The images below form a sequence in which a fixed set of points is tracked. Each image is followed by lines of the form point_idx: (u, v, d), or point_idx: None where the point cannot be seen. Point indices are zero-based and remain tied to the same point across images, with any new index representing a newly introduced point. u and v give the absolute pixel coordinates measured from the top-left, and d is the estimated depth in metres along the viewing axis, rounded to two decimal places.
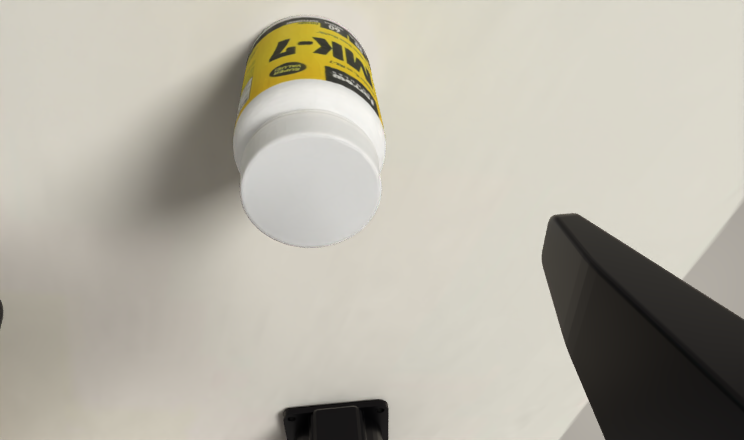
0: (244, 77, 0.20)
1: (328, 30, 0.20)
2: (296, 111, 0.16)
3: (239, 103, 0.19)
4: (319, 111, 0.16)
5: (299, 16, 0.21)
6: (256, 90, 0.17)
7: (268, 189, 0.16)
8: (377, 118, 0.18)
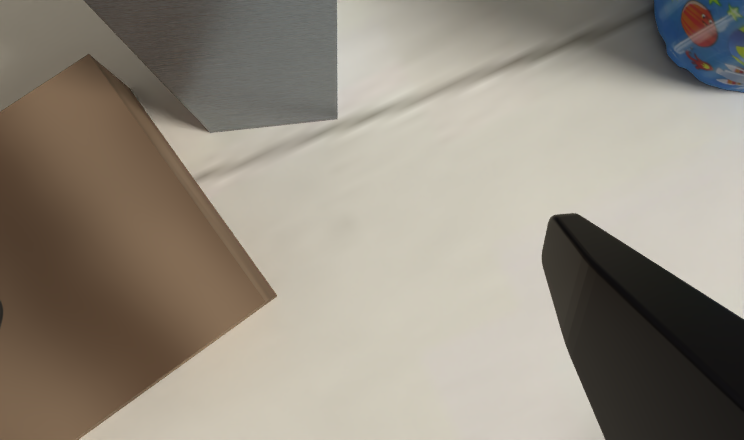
0: None
1: None
2: None
3: None
4: None
5: None
6: None
7: None
8: None
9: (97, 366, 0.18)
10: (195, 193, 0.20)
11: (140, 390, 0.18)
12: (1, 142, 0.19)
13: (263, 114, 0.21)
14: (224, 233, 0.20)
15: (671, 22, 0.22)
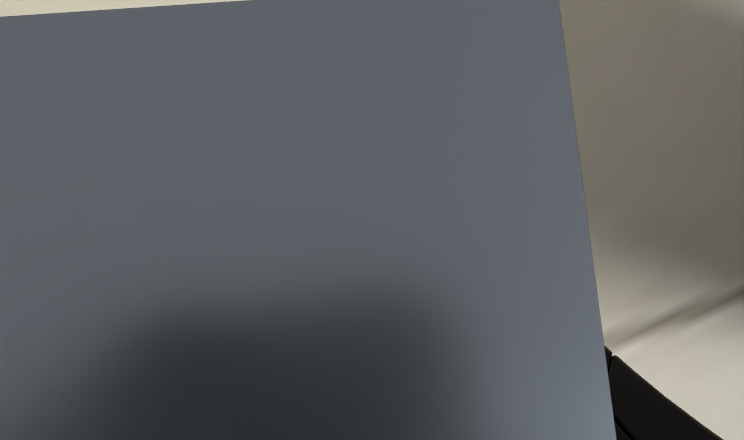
0: None
1: None
2: None
3: None
4: None
5: None
6: None
7: None
8: None
9: None
10: None
11: None
12: None
13: None
14: None
15: None
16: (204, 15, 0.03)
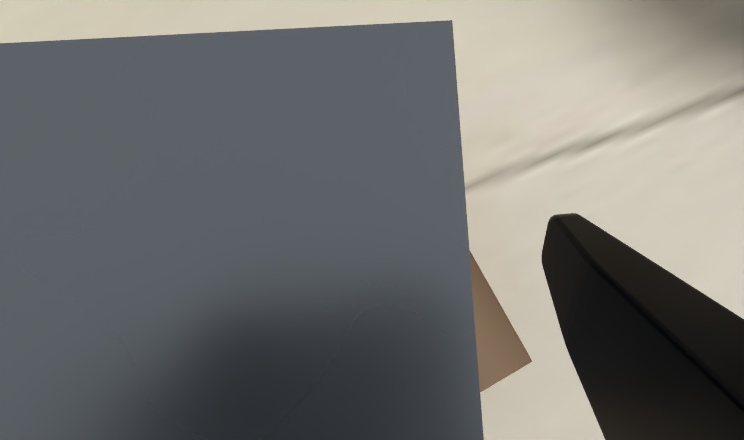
0: None
1: None
2: None
3: None
4: None
5: None
6: None
7: None
8: None
9: None
10: None
11: None
12: None
13: None
14: None
15: None
16: (194, 43, 0.04)
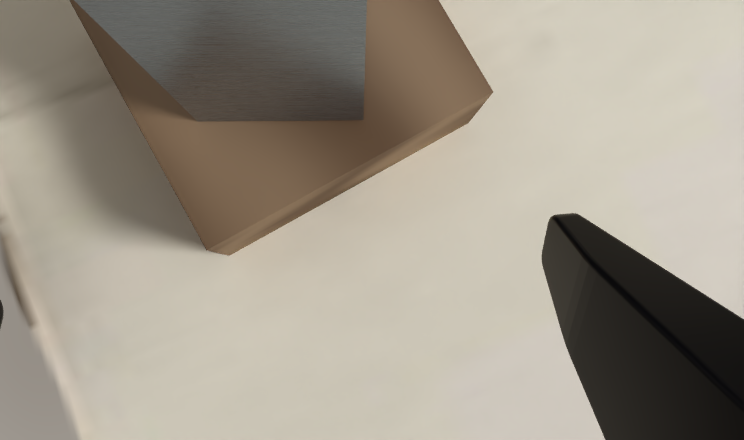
0: None
1: None
2: None
3: None
4: None
5: None
6: None
7: None
8: None
9: (319, 134, 0.18)
10: None
11: (360, 163, 0.18)
12: None
13: (264, 102, 0.16)
14: None
15: None
16: None
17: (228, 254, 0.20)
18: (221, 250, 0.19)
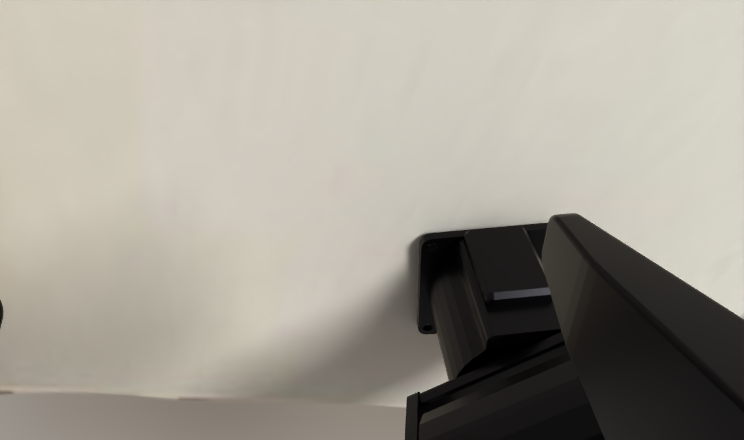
0: None
1: None
2: None
3: None
4: None
5: None
6: None
7: None
8: None
9: None
10: None
11: None
12: None
13: None
14: None
15: None
16: None
17: None
18: None
